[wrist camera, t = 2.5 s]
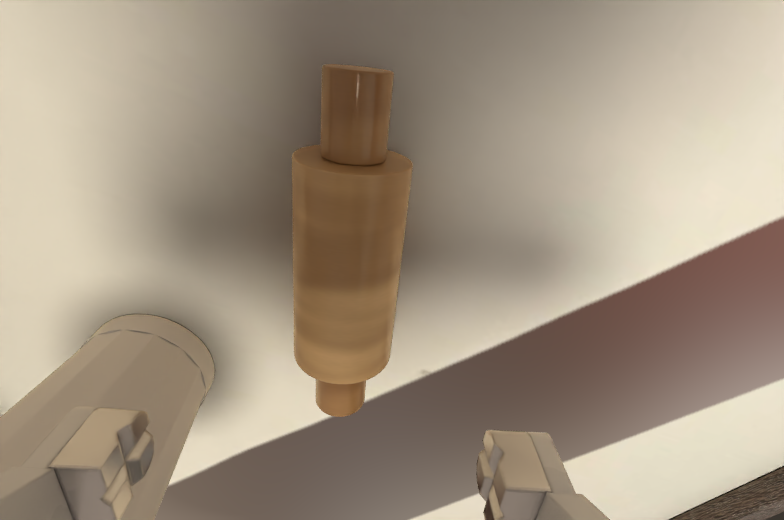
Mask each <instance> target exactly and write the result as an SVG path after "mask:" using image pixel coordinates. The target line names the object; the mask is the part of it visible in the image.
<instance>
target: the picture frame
mask: <svg viewBox="0 0 784 520" xmlns="http://www.w3.org/2000/svg"><path fill="white" fill-rule="evenodd" d="M671 520H784V467H783V468H781V469H779V470H776V471H774V472H772V473H770V474H768V475H766V476H764V477H761V478H759V479H757V480H755V481H753V482H751V483H748V484H746V485H744V486H742V487H740V488H738V489H736V490H733V491H731V492H729V493H727V494H725V495H723V496H721V497H718V498H716V499H714V500H712V501H710V502H708V503H705V504H703V505H701V506H699V507H697V508H695V509H693V510H690V511H688V512H686V513H684V514H682V515H680V516H678V517H675V518H673V519H671Z"/></svg>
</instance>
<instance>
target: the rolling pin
mask: <svg viewBox="0 0 784 520" xmlns="http://www.w3.org/2000/svg"><path fill="white" fill-rule="evenodd" d="M393 78H394V73H393V72H392V71H389V70H384V69H378V68H371V67H362V66H352V65H339V64H325V65H323V66H322V92H321V144H320V145H312V146H307V147H303V148H300V149H298V150H296V151H294V153H293V154H292V214H293V299H294V356H295V359H296V362H297V364H298V365H299V367H300V368H301V369H302V370H303V371H304V372H305V373H307V374H308V375H309V376H311V377H313V378H315V379H316V403H317V405H318V407H319V408H320V409H321V410H322V411H323V412H324V413H326V414H328V415H331V416H337V417H343V416H348V415H351V414H353V413H355V412H357V411H358V410H359V409H360V408H361V406H362V405H363V403H364V398H365V387H366V380H368V379H370V378H372V377H374V376H376V375H377V374H378V373H380V372H381V371H382V370H383V369H384V368H385V366H386V365H387V363H388V361H389V358H390V352H391V343H392V335H393V327H394V318H395V310H396V302H397V294H398V285H399V277H400V269H401V260H402V252H403V244H404V236H405V227H406V219H407V211H408V202H409V194H410V186H411V177H412V169H413V164H412V162H411V160H410V159H408V158H407V157H405V156H403V155H401V154H398V153H396V152H393V151H389V150H387V144H388V133H389V122H390V111H391V100H392V89H393Z"/></svg>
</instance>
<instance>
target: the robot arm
mask: <svg viewBox="0 0 784 520" xmlns="http://www.w3.org/2000/svg"><path fill="white" fill-rule="evenodd" d="M149 423H150V420H149V416H148V413H147V412H146V411H140V410H128V409H116V408H104V407H88V406H77V407H75V408H73V409H71V410H70V411H69V412H68V413H67V414H66V415H65V416H64V417H63V418H62V420H61V421H60V422H59V423H58V424H57V425H56V426H55V428H54V429H53V430H52V431H51V432H50V433H49V434H48V435H47V437H46V438H45V439H44V440H43V441H42V442H41V443H40V445H39V446H38V447H37V448H36V449H35V450H34V451H33V453H32V454H31V455H30V456H29V457H28V458H27V459H26V460H25V462H24V463H23V464H22V465H21V466H20V467H11V468H9V469H7V470H6V471H4V472H2V473H0V520H120V519H121V517H122V515H123V513H124V512H125V510H126V508H127V506H128V505H129V503H130V501H131V499H132V498H133V492H132V486H133V485H134V484H136V483H137V482H139V481H140V480H141V479H143V478H144V476H145V474H146V473H147V471H148V469H149V467H150V464H151V461H152V458H153V454H154V438H153V435H152V434H151V433H149V432H148V431H147V430H146V428H147V426H148V425H149ZM483 445H484V448H485V449H484V450H482V451H481V452H480V453H479V456H478V460H477V473H476V475H477V484H478V489H479V494H480V495H481V496H482V497H483V499H484V500H485V501H486V505H485V508H484V512H483V513H484V517H485V520H610V519H609V518H608V517H607V516H605V515H604V514H603V513H602V512H601V511H600V510H599V509H598V508H597V507H596V506H594V505H593V504H592V503H591V502H590V501H589V500H588V499H587V498H586V497H585V496H583V495H582V494H576V493H575V490H574V488H573V486H572V484H571V481H570V479H569V477H568V475H567V472H566V470H565V468H564V465H563V463H562V461H561V459H560V457H559V454H558V452H557V450H556V447H555V445H554V443H553V441H552V438H551V436H550V435H549V434H548V433H541V432H525V431H503V430H487V431H486V432H485V434H484V437H483Z"/></svg>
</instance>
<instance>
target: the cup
mask: <svg viewBox="0 0 784 520" xmlns="http://www.w3.org/2000/svg"><path fill="white" fill-rule="evenodd" d="M214 373H215V369H214V363H213V359H212V357H211V355H210V353H209V351H208V349H207V348H206V346H205V345H204V344H203V342H202V341H201V340H200V339H199V338H198V337H197V336H196V335H194V334H193V333H192V332H191V331H189V330H188V329H186V328H185V327H183V326H181V325H179V324H177V323H175V322H173V321H170V320H168V319H165V318H162V317H158V316H153V315H145V314H132V315H125V316H120V317H117V318H114V319H112V320H110V321H108V322H107V323H105V324H104V325H103V326H101V327H100V328H99V329H98V330H97V331H96V332H95V333H94V334H93V335H92V336H91V337H90V338H89V339H88V340H87V341H86V342H85V343H84V344H83V346H82V347H81V348H80V350H79V351H77V352H76V353H75V354H74V355H73V356H72V357H70V358H69V359H68V360H67V361H66V362H65V363H63V364H62V365H61V366H60V367H59V368H57V369H56V370H55V371H54V372H53V373H52V374H50V375H49V376H48V377H47V378H46V379H45V380H43V381H42V382H41V383H40V384H39V385H38V386H36V387H35V388H34V389H33V390H32V391H31V392H29V393H28V394H27V395H26V396H25V397H24V398H22V399H21V400H20V401H19V402H18V403H16V404H15V405H14V406H13V407H12V408H11V409H9V410H8V411H7V412H6V413H5V414H4V415H2V416H1V417H0V473H2V472H4V471H6V470H7V469H9V468H11V467H20V466H21V465H22V464H23V463H24V462H25V460H26V459H27V458H28V457H29V456H30V455H31V454H32V453H33V451H34V450H35V449H36V448H37V447H38V446H39V445H40V443H41V442H42V441H43V440H44V439H45V438H46V437H47V435H48V434H49V433H50V432H51V431H52V430H53V429H54V428H55V426H56V425H57V424H58V423H59V422H60V421H61V420H62V418H63V417H64V416H65V415H66V414H67V413H68V412H69V411H70V410H71V409H73V408H75V407H77V406H88V407H104V408H116V409H128V410H140V411H146V412H147V413H148V416H149V420H150V423H149V425H148V426H147V428H146V430H147V431H148V432H149V433H151V434H152V435H153V438H154V454H153V458H152V461H151V464H150V467H149V469H148V471H147V473H146V474H145V476H144V478H143V479H141V480H140V481H139V482H137V483H136V484H134V485H133V486H132V492H133V498H132V499H131V501H130V503H129V505H128V506H127V508H126V510H125V512H124V513H123V515H122V517H121V519H120V520H154V519H155V516H156V514H157V511H158V509H159V506H160V504H161V501H162V499H163V496H164V494H165V491H166V489H167V486H168V484H169V481H170V479H171V476H172V474H173V471H174V469H175V466H176V464H177V461H178V459H179V456H180V454H181V451H182V449H183V446H184V444H185V441H186V439H187V437H188V434H189V432H190V429H191V427H192V424H193V422H194V419H195V417H196V414H197V412H198V409H199V407H200V406H201V404H202V402H203V401H204V399H205V397H206V395H207V393H208V391H209V389H210V387H211V385H212V382H213V379H214Z"/></svg>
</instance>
